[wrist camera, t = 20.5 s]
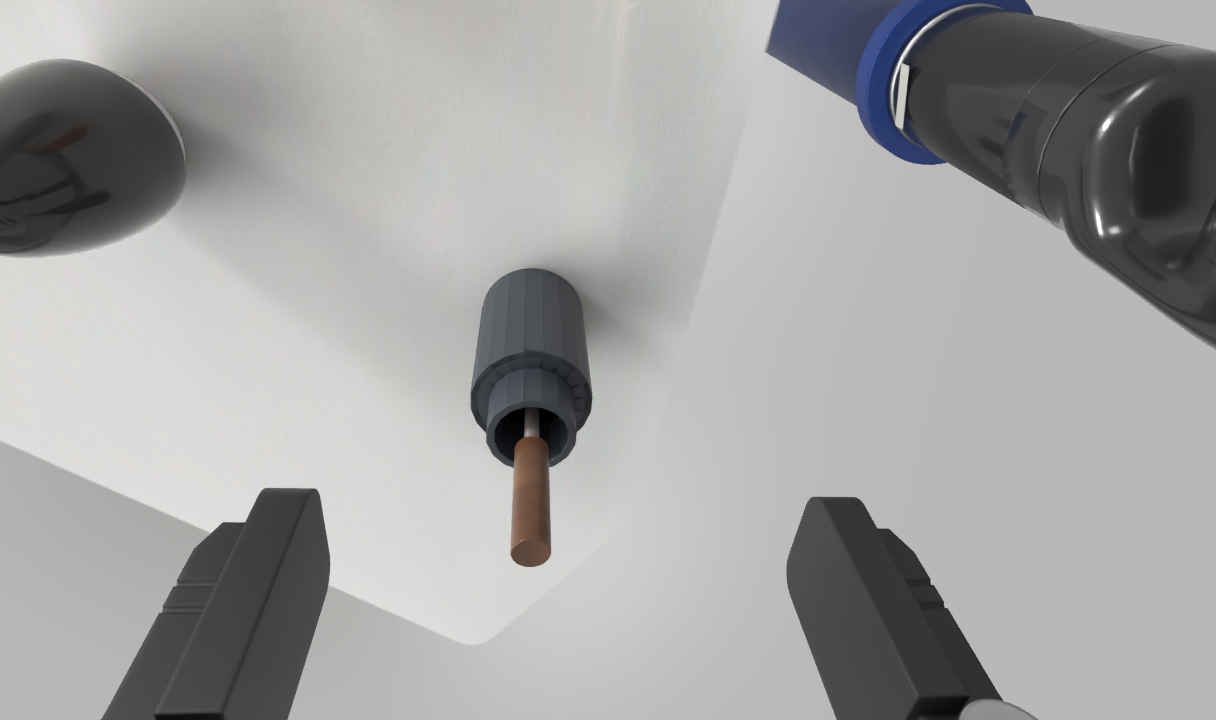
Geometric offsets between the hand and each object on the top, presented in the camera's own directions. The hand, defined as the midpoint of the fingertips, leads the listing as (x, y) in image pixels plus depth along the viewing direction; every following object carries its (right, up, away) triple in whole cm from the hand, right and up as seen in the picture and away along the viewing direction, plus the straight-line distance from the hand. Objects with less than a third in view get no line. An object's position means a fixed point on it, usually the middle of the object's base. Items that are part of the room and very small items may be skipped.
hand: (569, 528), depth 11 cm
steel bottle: (-5, +6, +43) cm, 44 cm away
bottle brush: (-5, +6, +43) cm, 43 cm away
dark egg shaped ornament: (-31, +18, +33) cm, 49 cm away
